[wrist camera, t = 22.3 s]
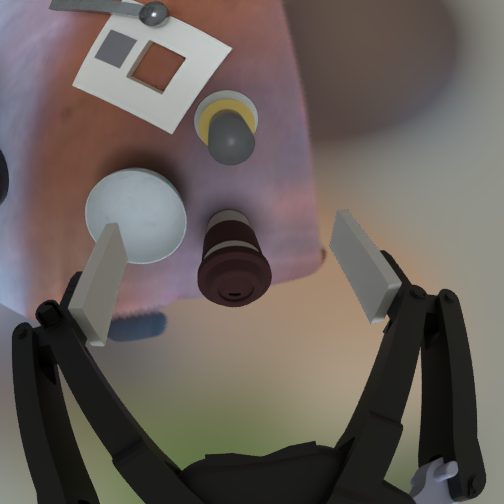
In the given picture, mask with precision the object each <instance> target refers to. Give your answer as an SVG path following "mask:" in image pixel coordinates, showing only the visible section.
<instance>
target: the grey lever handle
mask: <svg viewBox="0 0 504 504" xmlns="http://www.w3.org/2000/svg"><path fill="white" fill-rule="evenodd" d="M49 9H51V10H56V11H78V12H92V13H102V14H110V15H118V16H124V17H130V18H136V19H140V21H141V22H142V23H143V24H145V25H147V26H148V27H151V28H157V27H160V26H163V25H164V24H165V23H166V22H167V21H168V19H169V17H170V12H169V10H168V9H167V8H166V6H165V5H164V4H163V3H161V2H157V1H154V2H150V3H147V4H146V5H140V4H134V3H128V2H120V1H112V0H52V2H51V4H50V7H49Z"/></svg>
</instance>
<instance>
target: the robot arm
mask: <svg viewBox="0 0 504 504" xmlns="http://www.w3.org/2000/svg"><path fill="white" fill-rule="evenodd" d="M7 191H8V171H7V166H6V163H5V160H4V157H3V155H2V153H1V151H0V205H1V204H2V202H3V201H4V199H5V197H6V195H7ZM329 246H330V248H331V250H332V252H333V253H334V255H335V257H336V259H337V260H338V262H339V264H340V266H341V268H342V270H343V271H344V273H345V275H346V277H347V279H348V281H349V282H350V284H351V286H352V288H353V290H354V292H355V294H356V296H357V298H358V300H359V302H360V304H361V306H362V308H363V310H364V312H365V314H366V316H367V318H368V320H369V322H370V324H372V323H377V322H382V321H383V320H384V318H385V316H386V314H387V315H388V316H389V318H390V320H389V322H388V323H387V325H386V327H385V329H384V330H383V333H384V336H383V340H382V342H381V345H380V349H379V351H378V354H377V357H376V360H375V363H374V365H373V368H372V371H371V373H370V376H369V378H368V381H367V383H366V386H365V388H364V391H363V393H362V395H361V398H360V400H359V402H358V405H357V407H356V409H355V411H354V413H353V416H352V418H351V420H350V422H349V424H348V426H347V428H346V430H345V432H344V433H343V435H342V436H341V438H340V439H339V441H338V442H337V444H336V446H335V447H334V448H332V447H328V446H322V445H316V442H315V441H312V442H307V443H302V444H297V445H292V446H288V447H286V448H283V449H281V450H279V451H276V452H273V453H271V454H268V455H266V456H261V457H260V456H251V455H242V454H235V453H227V454H207V455H205V459H203V460H199V461H197V462H194V463H193V464H191V465H189V466H188V467H186V468H185V469H184V470H183V471H182V470H181V469H180V468H179V467H178V466H177V465H176V464H175V463H174V462H173V461H172V460H171V459H170V458H168V456H167V455H165V454H164V453H163V452H162V451H161V449H160V448H159V447H158V446H157V445H156V444H155V443H154V442H153V440H152V439H151V438H150V437H149V436H148V435H147V433H146V432H145V431H144V430H143V428H142V427H141V426H140V425H139V424H138V422H137V421H136V420H135V419H134V417H133V416H132V415H131V413H130V412H129V411H128V410H127V408H126V407H125V406H124V404H123V403H122V401H121V400H120V399H119V397H118V396H117V394H116V393H115V392H114V390H113V389H112V387H111V386H110V384H109V383H108V381H107V380H106V378H105V377H104V375H103V374H102V372H101V370H100V369H99V367H98V366H97V364H96V362H95V361H94V359H93V357H92V356H91V354H90V353H89V351H88V349H87V347H86V346H85V344H86V340H88V341H89V343H90V344H91V345H92V346H105V343H106V338H107V334H108V330H109V326H110V321H111V317H112V313H113V310H114V306H115V302H116V298H117V295H118V291H119V288H120V284H121V281H122V278H123V274H124V271H125V268H126V265H127V261H128V257H127V254H126V250H125V247H124V244H123V240H122V237H121V233H120V229H119V226H118V223H109V224H106V225H105V227H104V229H103V231H102V233H101V235H100V237H99V239H98V241H97V243H96V245H95V247H94V249H93V251H92V253H91V255H90V257H89V259H88V262H87V264H86V266H85V268H84V270H83V271H82V272H76V273H75V275H74V276H73V277H72V278H71V279H70V282H69V284H68V287H67V288H66V291H65V293H64V295H63V298H62V300H61V302H60V305H59V304H58V303H57V302H56V301H55V300H47V301H45V302H43V303H42V304H41V305H40V306H39V307H38V308H37V310H36V313H35V315H36V319H37V320H38V322H39V323H40V324H41V326H39V327H36V328H32V326H31V325H30V324H29V323H27V322H24V323H21V324H19V325H18V326H17V327H16V328H15V329H14V331H13V335H12V368H13V383H14V393H15V402H16V410H17V416H18V423H19V428H20V434H21V439H22V443H23V448H24V452H25V456H26V459H27V463H28V467H29V470H30V474H31V477H32V480H33V483H34V486H35V489H36V492H37V502H38V504H100V503H99V499H98V496H97V494H96V491H95V489H94V486H93V484H92V481H91V479H90V477H89V474H88V472H87V470H86V467H85V465H84V462H83V459H82V457H81V454H80V451H79V448H78V446H77V443H76V440H75V436H74V433H73V430H72V427H71V424H70V420H69V416H68V412H67V409H66V405H65V401H64V396H63V392H62V388H61V383H60V378H59V372H58V367H57V364H58V365H59V367H60V369H61V371H62V373H63V375H64V377H65V380H66V382H67V383H68V386H69V387H70V389H71V391H72V393H73V395H74V397H75V399H76V401H77V403H78V404H79V406H80V408H81V410H82V411H83V413H84V415H85V416H86V418H87V420H88V421H89V423H90V425H91V426H92V428H93V429H94V431H95V433H96V434H97V436H98V437H99V439H100V440H101V442H102V443H103V445H104V446H105V447H106V449H107V450H108V452H109V453H110V455H111V456H112V458H113V459H112V462H113V464H114V466H115V467H116V469H117V470H118V472H119V473H120V474H121V475H122V477H123V478H124V479H125V480H126V482H127V483H128V484H129V485H130V487H131V488H132V489H133V490H134V491H135V492H136V493H137V495H138V496H139V497H140V498H141V499H142V500H143V501H144V502H145V503H146V504H454V503H458V502H462V501H466V500H470V499H473V498H475V497H477V496H478V495H479V494H480V493H481V492H482V490H483V489H484V487H485V483H486V473H485V468H484V463H483V459H482V454H481V451H480V446H479V442H478V439H477V408H476V395H475V383H474V376H473V367H472V360H471V355H470V349H469V343H468V337H467V333H466V328H465V324H464V319H463V314H462V310H461V306H460V303H459V299H458V297H457V295H455V293H454V292H452V291H451V290H448V289H442V290H441V291H440V292H439V294H438V296H435V295H428V294H427V293H426V291H425V290H424V289H423V288H421V287H419V286H417V285H412V284H411V283H410V281H409V280H408V278H407V277H406V275H405V274H404V273H403V271H402V270H401V268H399V266H398V264H397V263H396V262H395V260H394V259H393V257H392V256H391V255H390V254H388V253H387V252H386V251H384V250H381V251H379V249H378V248H377V247H376V245H375V244H374V243H373V241H372V240H371V239H370V237H369V236H368V235H367V233H366V232H365V231H364V229H363V228H362V227H361V226H360V224H359V223H358V222H357V220H356V219H355V218H354V217H353V216H352V214H351V213H350V212H349V210H347V209H346V210H337V211H336V217H335V222H334V227H333V232H332V236H331V241H330V245H329ZM420 346H421V368H422V405H421V426H420V427H421V428H420V439H419V451H418V463H419V464H418V466H419V469H418V470H417V471H416V473H415V475H414V477H413V478H412V479H411V486H412V489H411V491H410V493H409V494H407V493H405V492H403V491H402V490H400V489H398V488H397V487H395V486H393V485H392V484H390V483H388V482H387V481H385V480H384V477H385V475H386V472H387V470H388V468H389V465H390V463H391V461H392V458H393V456H394V453H395V450H396V448H397V446H398V443H399V440H400V437H401V435H402V431H403V425H402V424H401V418H402V415H403V412H404V409H405V406H406V402H407V399H408V395H409V392H410V388H411V385H412V381H413V377H414V373H415V368H416V364H417V360H418V355H419V350H420Z"/></svg>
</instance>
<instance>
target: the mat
mask: <svg viewBox="0 0 504 504" xmlns="http://www.w3.org/2000/svg"><path fill="white" fill-rule="evenodd" d="M220 99H235V100H238V101H240V102H242V103H243V104H245V105H246V106H247V107H248V108H249V109H250V110H251V112H252V114H253V116H254V119H255V131H256V128H257V124H258V114H257V110H256V108H255V106H254V104H253V103H252V102H251V100H250V99H249V98H247V97H246V96H245V95H243V94H241V93H239V92H236V91H231V90H223V91H218V92H215V93H212V94H210V95H209V96H207V97H206V98H205V99H204V100H203V101H202V102H201V103H200V104H199V106H198V108H197V110H196V113H195V117H194V125H195V129H196V132H197V134H198V136H199V137H200V139H201V140H202V138H201V136H200V134H199V120H200V116H201V114H202V112H203V111H204V109H205V108H206V107H207V106H208V105H210V104H211V103H213V102H214V101H217V100H220ZM254 133H255V132H254ZM202 141H203V140H202Z"/></svg>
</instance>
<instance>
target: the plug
mask: <svg viewBox="0 0 504 504" xmlns="http://www.w3.org/2000/svg"><path fill="white" fill-rule="evenodd" d="M254 132H255V119H254V116H253V114H252V112H251V110H250V109H249V108H248V107H247V106H246V105H245V104H243V103H242V102H240V101H238V100H235V99H220V100H217V101H214V102H213V103H211V104H210V105H208V106H207V107H206V108H205V109H204V111H203V112H202V114H201V116H200V120H199V134H200V136H201V138H202V140H203V142H204V143H205V144H206V145H207V146H208V149H209V152H210V154H211V156H212V157H213V158H214V159H215V160H216V161H218V162H219V163H222V164H225V165H236V164H239V163H242V162H244V161H245V160H246V159H248V158H249V157H250V155H251V154H252V152H253V150H254V146H255V139H254Z"/></svg>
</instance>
